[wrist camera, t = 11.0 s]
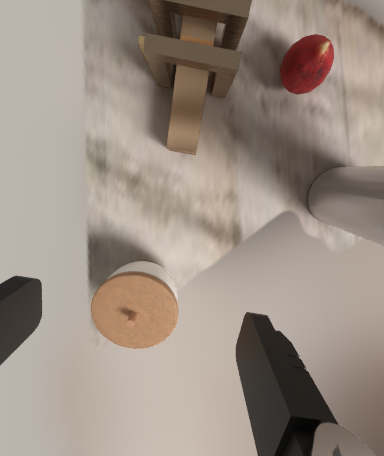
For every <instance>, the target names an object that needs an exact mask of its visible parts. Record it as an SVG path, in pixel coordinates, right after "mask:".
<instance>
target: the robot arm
mask: <svg viewBox="0 0 384 456" xmlns="http://www.w3.org/2000/svg"><path fill="white" fill-rule="evenodd" d="M308 206H309V209H310V211H311V213H312V214H313V216H314V217H315V218H317V219H318V220H320V221H322V222H325V223H327V224H330V225H332V226H335V227H337V228H339V229H342V230H345V231H347V232H350V233H352V234H355V235H357V236H360V237H362V238H365V239H367V240H370V241H372V242H375V243H377V244H380V245H382V246H384V166H366V167H336V168H332V169H329V170H327V171H325V172H324V173H322V174H321V175H320V176H319V177H318V178H317V179H316V180H315V181H314V183H313V184H312V186H311V188H310V190H309V194H308ZM41 286H42V285H41V281H40V280H39V279H35V278H28V277H22V276H14V277H12V278H10V279H8V280H6V281H5V282H3V283H1V284H0V365H1V364H2V363H3V362H4V361H5V360H6V359H7V358H8V357H9V356H10V355H11V354H12V353H13V352H14V351H15V350H16V349H17V348H18V347H19V346H20V345H21V344H22V343H23V342H24V341H25V340H26V339H27V338H28V337H29V336H30V335H31V334H32V333H33V332H34V331H35V329H36V328H37V326H38V325H39V322H40V320H41V317H42V287H41ZM236 362H237V366H238V370H239V375H240V379H241V383H242V388H243V392H244V396H245V401H246V405H247V410H248V414H249V418H250V423H251V427H252V432H253V436H254V440H255V445H256V449H257V453H258V456H376V455H375V454H374V453H373V452H372V451H371V450H370V448H369V447H368V446H367V445H365V443H364V442H363V441H362V440H360V439H359V438H358V437H357V436H356V435H354V434H353V433H352V432H350V431H349V430H347V429H345V428H344V427H341V426H340V425H338V423H337V421H336V420H335V418H334V416H333V414H332V412H331V411H330V409H329V407H328V406H327V404H326V402H325V400H324V399H323V397H322V395H321V393H320V392H319V390H318V388H317V386H316V385H315V383H314V381H313V379H312V378H311V376H310V374H309V372H308V371H306V367H305V365H304V364H303V362H302V360H301V359H299V355H298V353H297V351H296V350H295V348H294V346H293V344H292V343H291V342H290V341H289V340H288V339H287V338H286V337H285V336H284V335H283V334H282V333H281V332H280V331H276V330H275V329H274V327H273V325H272V323H271V321H270V319H269V318H268V316H267V315H262V314H256V313H249V312H247V313H246V314H245V316H244V319H243V323H242V326H241V330H240V333H239V337H238V340H237V344H236Z"/></svg>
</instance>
